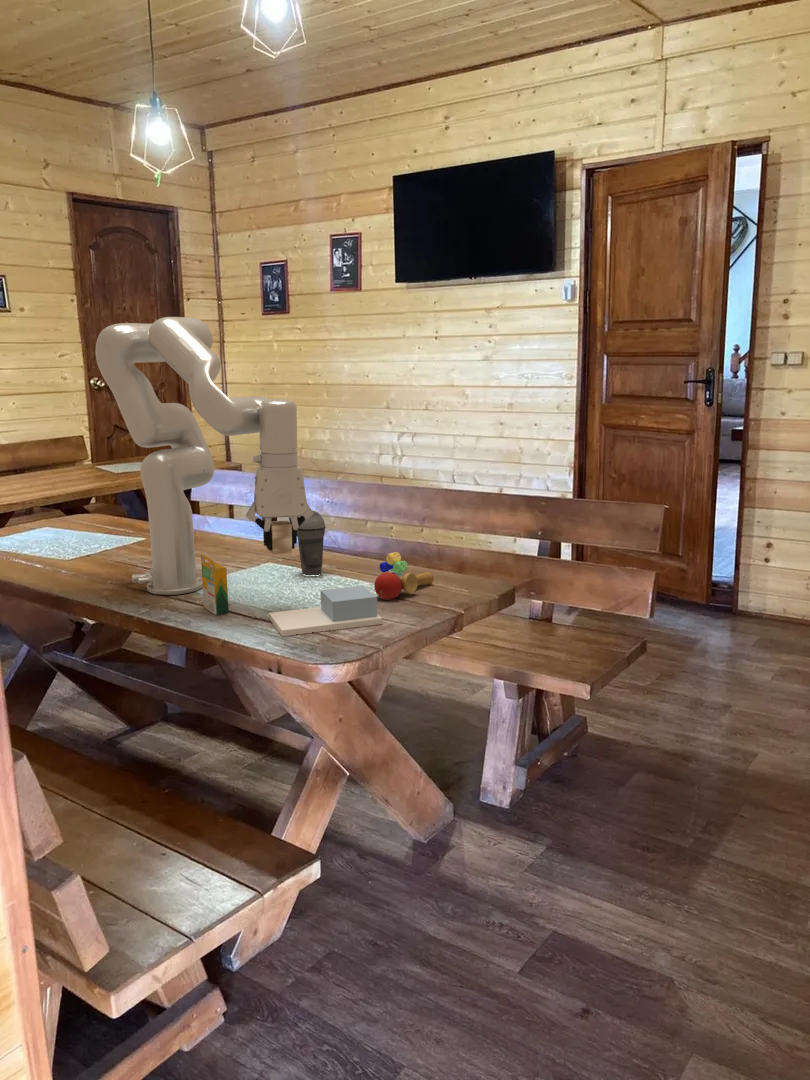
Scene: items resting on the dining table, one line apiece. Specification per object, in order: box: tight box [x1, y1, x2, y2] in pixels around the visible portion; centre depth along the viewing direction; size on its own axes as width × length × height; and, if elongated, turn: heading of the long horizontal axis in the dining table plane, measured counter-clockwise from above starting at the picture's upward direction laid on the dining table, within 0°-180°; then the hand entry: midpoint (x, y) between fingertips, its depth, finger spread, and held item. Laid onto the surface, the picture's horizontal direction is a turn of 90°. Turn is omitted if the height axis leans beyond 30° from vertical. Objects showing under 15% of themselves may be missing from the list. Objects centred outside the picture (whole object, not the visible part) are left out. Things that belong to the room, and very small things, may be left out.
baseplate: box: [268, 585, 383, 637], centre depth 173 cm, size 20×12×5 cm, turn 111°
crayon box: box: [200, 553, 230, 616], centre depth 181 cm, size 7×3×12 cm, turn 33°
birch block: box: [270, 520, 293, 555], centre depth 181 cm, size 4×4×6 cm
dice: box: [379, 551, 409, 577], centre depth 205 cm, size 8×3×6 cm, turn 41°
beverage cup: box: [297, 492, 327, 575], centre depth 208 cm, size 7×7×20 cm
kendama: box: [373, 571, 435, 601], centre depth 194 cm, size 8×6×18 cm
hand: (280, 547), depth 182 cm, fingers closed on birch block, 4 cm apart
